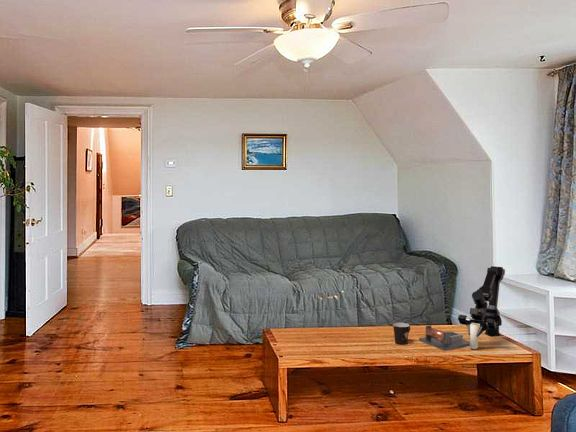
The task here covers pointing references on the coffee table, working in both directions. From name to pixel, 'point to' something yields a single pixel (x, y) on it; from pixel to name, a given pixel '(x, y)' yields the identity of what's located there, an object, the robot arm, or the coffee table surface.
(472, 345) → the handle post
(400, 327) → the coffee mug
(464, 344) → the winch base
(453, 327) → the coffee table surface
